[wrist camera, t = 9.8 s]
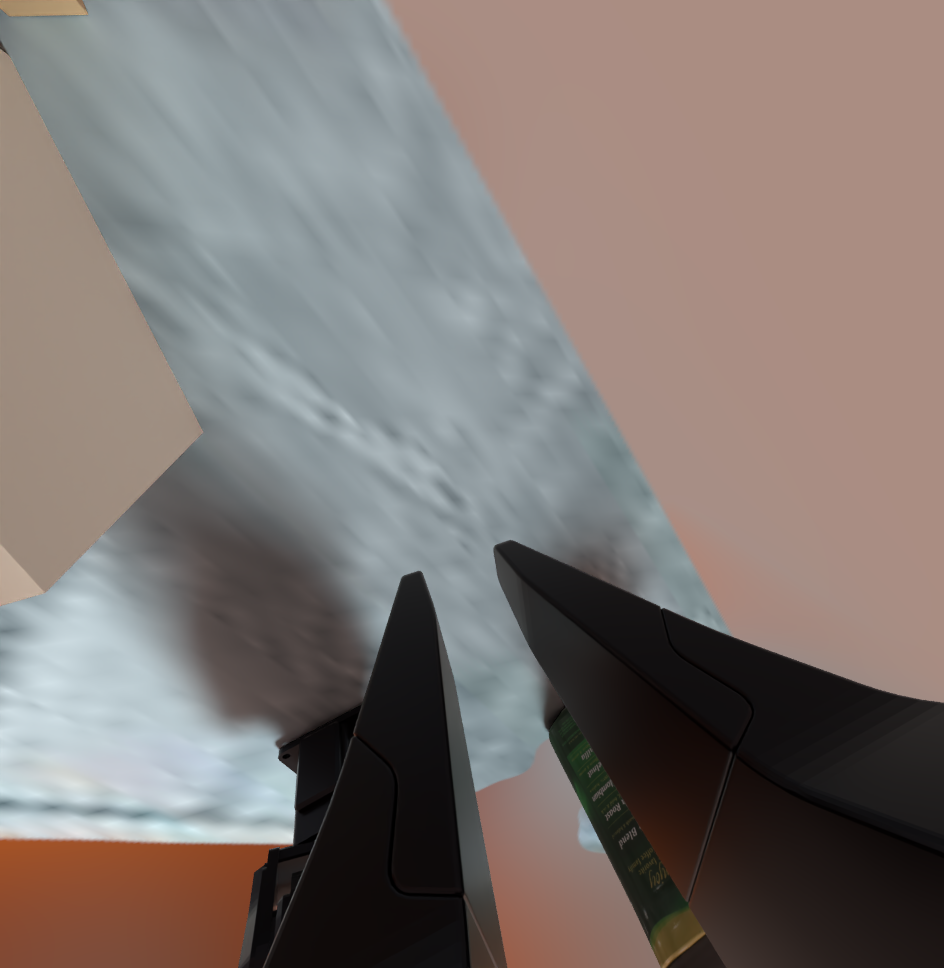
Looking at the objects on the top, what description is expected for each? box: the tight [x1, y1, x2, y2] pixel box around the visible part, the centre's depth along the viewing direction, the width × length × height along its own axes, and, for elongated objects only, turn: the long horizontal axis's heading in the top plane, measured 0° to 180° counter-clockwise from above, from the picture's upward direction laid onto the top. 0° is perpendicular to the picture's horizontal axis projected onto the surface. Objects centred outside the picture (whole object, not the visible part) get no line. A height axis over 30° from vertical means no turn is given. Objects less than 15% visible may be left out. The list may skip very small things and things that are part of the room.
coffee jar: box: [549, 708, 726, 968], centre depth 29 cm, size 10×8×19 cm
